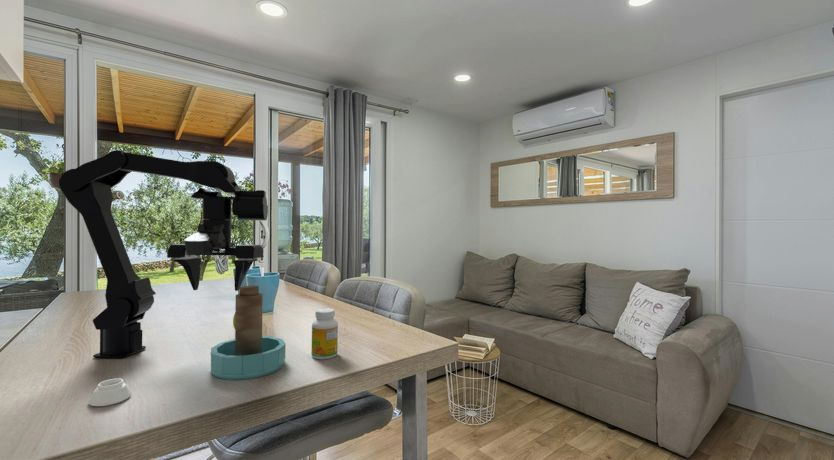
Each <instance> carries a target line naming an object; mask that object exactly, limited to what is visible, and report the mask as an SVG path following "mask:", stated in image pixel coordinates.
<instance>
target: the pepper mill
mask: <svg viewBox="0 0 834 460" xmlns="http://www.w3.org/2000/svg"><path fill="white" fill-rule="evenodd" d="M259 288H260V287H259V286H258V285H243V286H242V285H241V286H240V289H239V293H237V294H235V312H234V314H235V328H234V334H235V335H234V339H235V356H244V355H252V354H259V353H262V336H263V296H264V295H263V293H262V292H260V291H259V290H260V289H259Z"/></svg>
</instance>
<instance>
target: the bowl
mask: <svg viewBox="0 0 834 460" xmlns="http://www.w3.org/2000/svg"><path fill="white" fill-rule="evenodd" d="M285 360H286V342H285V341H284V340H283V338H279V337H276V336H275V337H274V336H271V335H270V336H269V335H268V336H263V335H262V353H259V354H252V355H244V356H235V338H233V339H229V340H225V341H223V342H219V343H218V344H216V345H214V346H213V347H210V374H211V376H213V377H214V378H217V379H221V380H228V381H239V380H240V381H241V380H250V379H255V378H261V377H264V376H268V375H270V374H273V373H275V372H278V371H279V370H281V369H282V368H283V367H284V365H285Z"/></svg>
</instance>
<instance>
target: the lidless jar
mask: <svg viewBox="0 0 834 460" xmlns="http://www.w3.org/2000/svg"><path fill="white" fill-rule="evenodd" d="M131 396H132V391H131V389H130V388H129V386H128V385H127V383H125V382H124V379H123V378H111V379H110V378H109V379H106V380H102V381H101V382H99V383H98V384H97V387H96V388H95V390H94V391H93V392H92V394H91V397H90V398H89V399H88V404H89V405H90V406H93V407H99V408H100V407H107V406H112V405H117V404H119V403H121V402H124V401H125V400H127V399H128V398H130V397H131Z"/></svg>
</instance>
